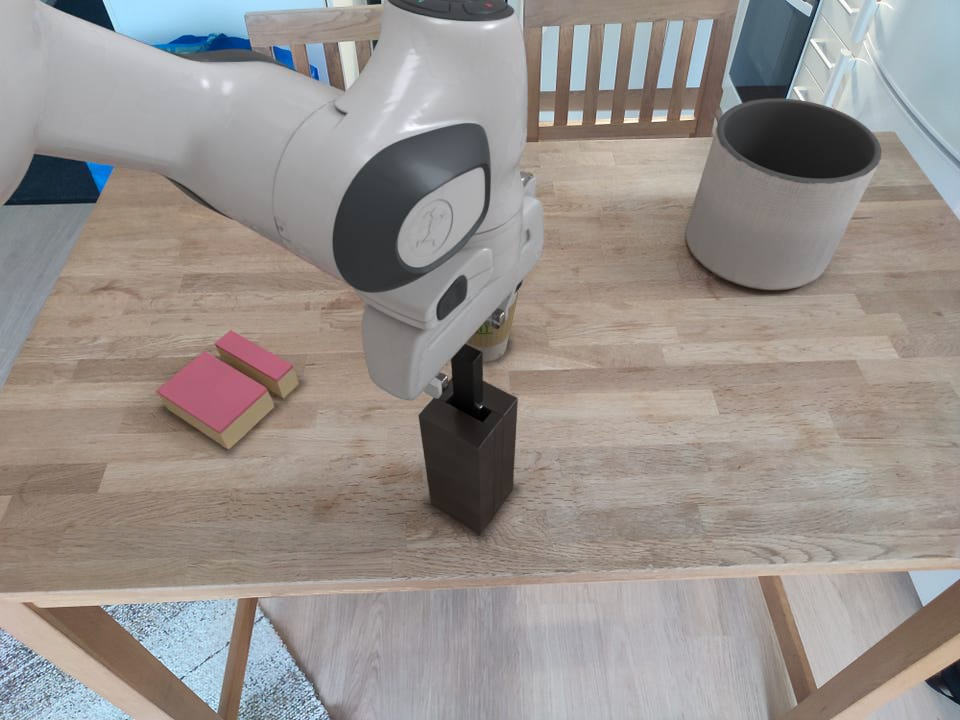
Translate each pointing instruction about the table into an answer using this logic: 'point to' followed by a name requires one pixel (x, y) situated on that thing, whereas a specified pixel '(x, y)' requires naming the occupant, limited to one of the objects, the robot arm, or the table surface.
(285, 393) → the cake slice
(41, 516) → the table surface
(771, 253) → the planter
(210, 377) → the cake
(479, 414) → the knife
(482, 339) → the coffee cup
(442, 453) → the knife block
